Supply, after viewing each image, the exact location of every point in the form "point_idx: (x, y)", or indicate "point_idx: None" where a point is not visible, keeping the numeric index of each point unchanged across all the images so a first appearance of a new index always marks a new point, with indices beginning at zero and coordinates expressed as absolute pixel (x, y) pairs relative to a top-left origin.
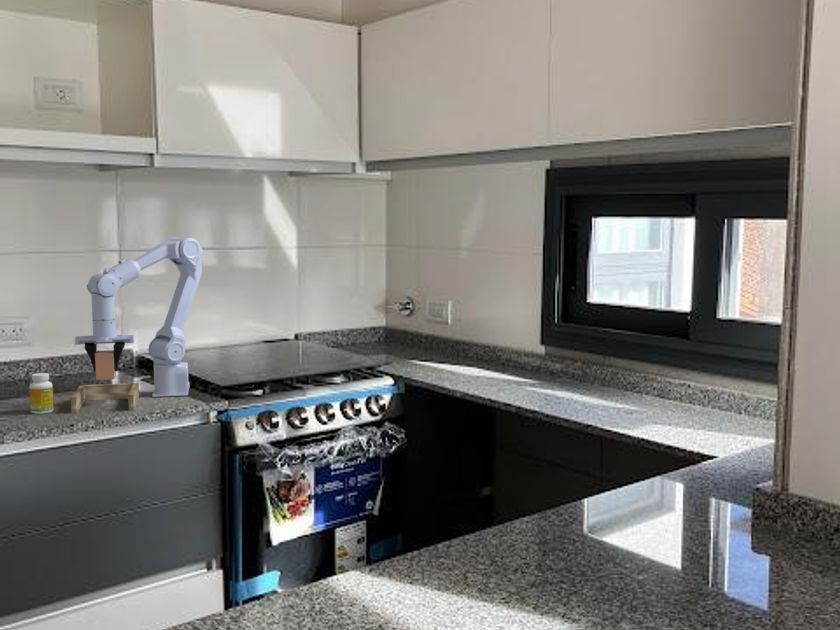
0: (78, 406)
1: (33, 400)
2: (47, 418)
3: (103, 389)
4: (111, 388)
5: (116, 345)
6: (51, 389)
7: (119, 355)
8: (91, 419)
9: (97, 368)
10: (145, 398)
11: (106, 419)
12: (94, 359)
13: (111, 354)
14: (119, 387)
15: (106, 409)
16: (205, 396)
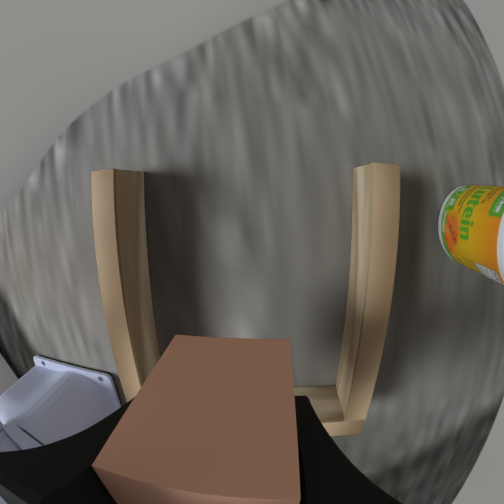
0: (356, 225)
1: None
2: (432, 104)
3: None
4: None
5: (9, 491)
6: (492, 222)
7: (65, 438)
8: (271, 42)
9: (277, 385)
10: None
11: (214, 36)
12: (306, 456)
13: (114, 459)
14: None
15: (235, 209)
16: (6, 333)
